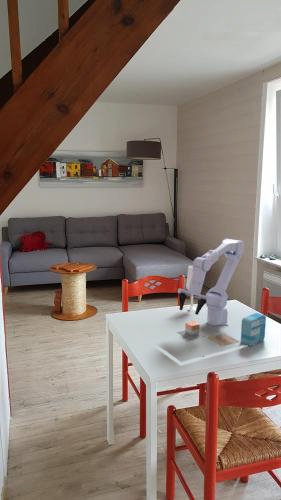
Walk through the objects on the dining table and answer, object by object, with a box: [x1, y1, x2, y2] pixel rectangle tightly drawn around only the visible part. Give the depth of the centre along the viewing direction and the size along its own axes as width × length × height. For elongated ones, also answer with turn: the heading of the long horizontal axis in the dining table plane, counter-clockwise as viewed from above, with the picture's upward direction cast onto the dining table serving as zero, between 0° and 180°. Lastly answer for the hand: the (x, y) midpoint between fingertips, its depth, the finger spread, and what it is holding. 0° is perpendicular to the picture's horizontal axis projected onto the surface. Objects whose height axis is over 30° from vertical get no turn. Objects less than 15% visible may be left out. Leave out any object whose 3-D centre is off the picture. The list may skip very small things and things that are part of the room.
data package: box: [240, 312, 267, 347], centre depth 181 cm, size 12×4×12 cm, turn 131°
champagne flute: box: [185, 265, 197, 310], centre depth 222 cm, size 7×7×24 cm
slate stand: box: [176, 330, 208, 341], centre depth 188 cm, size 10×10×1 cm
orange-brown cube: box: [184, 320, 201, 337], centre depth 187 cm, size 5×5×5 cm
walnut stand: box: [207, 333, 241, 347], centre depth 181 cm, size 10×10×1 cm
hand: (188, 312), depth 186 cm, fingers open, 7 cm apart
